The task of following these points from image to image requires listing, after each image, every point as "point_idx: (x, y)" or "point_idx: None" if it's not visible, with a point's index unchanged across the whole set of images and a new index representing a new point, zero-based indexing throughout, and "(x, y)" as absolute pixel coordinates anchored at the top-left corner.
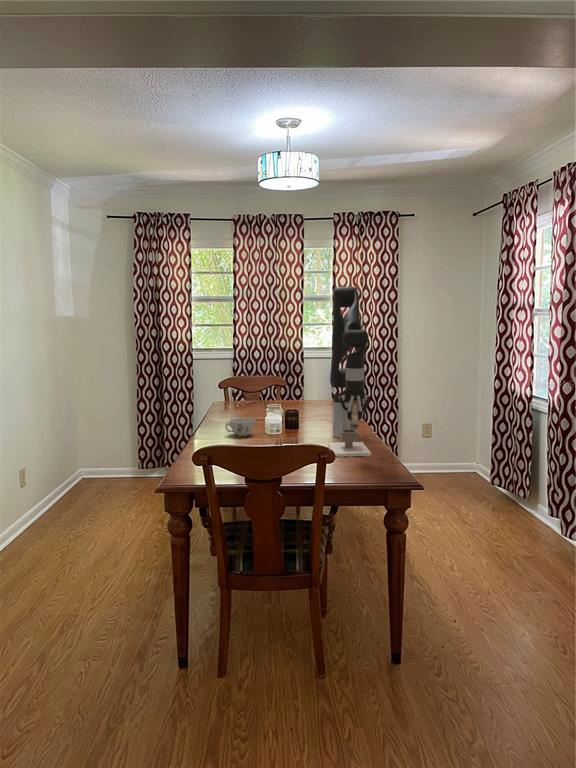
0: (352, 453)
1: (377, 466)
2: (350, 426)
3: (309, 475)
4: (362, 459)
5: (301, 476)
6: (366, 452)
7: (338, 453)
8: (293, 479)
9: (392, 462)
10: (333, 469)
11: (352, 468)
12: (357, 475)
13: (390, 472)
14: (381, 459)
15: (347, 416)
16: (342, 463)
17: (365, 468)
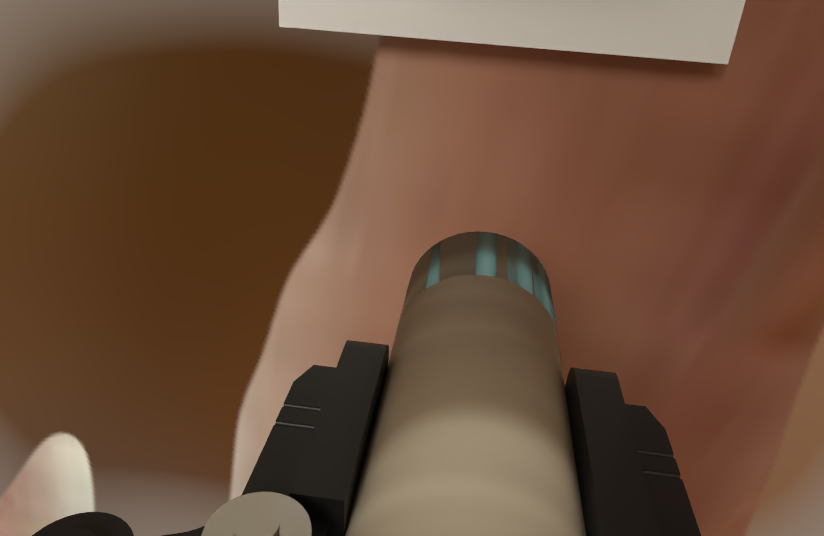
0: (499, 44)
1: None
2: (403, 305)
3: (88, 471)
4: (570, 163)
5: (41, 478)
6: (681, 32)
7: (334, 29)
8: (3, 513)
9: (813, 311)
10: (251, 392)
11: None
12: None
13: None
14: (766, 196)
15: (292, 414)
16: (345, 259)
17: None
